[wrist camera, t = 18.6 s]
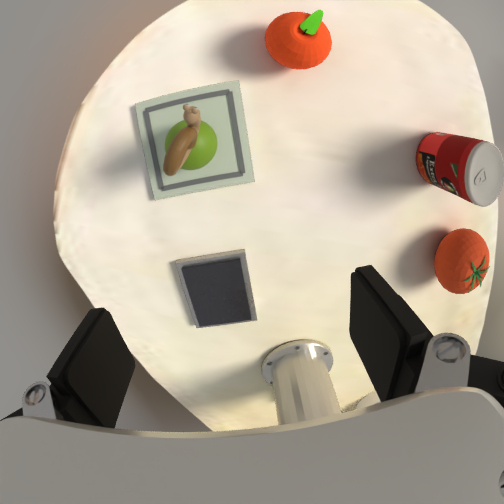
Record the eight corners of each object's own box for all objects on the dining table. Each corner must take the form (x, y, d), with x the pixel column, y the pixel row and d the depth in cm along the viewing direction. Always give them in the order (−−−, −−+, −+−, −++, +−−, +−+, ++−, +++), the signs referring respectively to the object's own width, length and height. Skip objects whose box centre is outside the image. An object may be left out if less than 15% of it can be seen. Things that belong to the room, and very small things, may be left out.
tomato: (454, 206, 35) (496, 230, 26) (471, 247, 38) (506, 273, 29) (414, 250, 37) (451, 283, 28) (435, 285, 41) (466, 319, 32)
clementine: (284, 9, 23) (296, -16, 16) (334, 38, 25) (357, 21, 18) (250, 55, 26) (254, 37, 19) (303, 85, 27) (321, 75, 21)
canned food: (405, 155, 31) (459, 172, 21) (436, 120, 29) (491, 128, 19) (431, 194, 34) (481, 221, 24) (459, 160, 31) (510, 178, 21)
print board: (254, 180, 32) (254, 182, 31) (156, 198, 32) (154, 200, 31) (238, 81, 27) (238, 79, 26) (137, 104, 27) (134, 103, 26)
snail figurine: (230, 122, 28) (227, 119, 17) (207, 173, 31) (191, 200, 20) (186, 104, 27) (157, 92, 16) (164, 156, 29) (125, 174, 18)
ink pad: (256, 316, 40) (257, 322, 39) (197, 323, 41) (196, 330, 39) (244, 248, 36) (245, 254, 34) (177, 259, 36) (174, 265, 34)
